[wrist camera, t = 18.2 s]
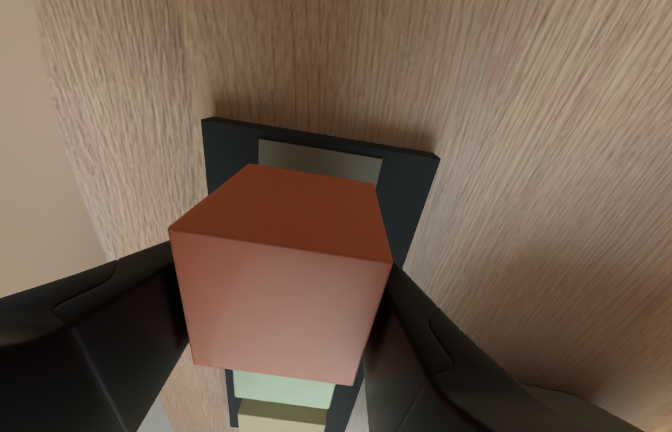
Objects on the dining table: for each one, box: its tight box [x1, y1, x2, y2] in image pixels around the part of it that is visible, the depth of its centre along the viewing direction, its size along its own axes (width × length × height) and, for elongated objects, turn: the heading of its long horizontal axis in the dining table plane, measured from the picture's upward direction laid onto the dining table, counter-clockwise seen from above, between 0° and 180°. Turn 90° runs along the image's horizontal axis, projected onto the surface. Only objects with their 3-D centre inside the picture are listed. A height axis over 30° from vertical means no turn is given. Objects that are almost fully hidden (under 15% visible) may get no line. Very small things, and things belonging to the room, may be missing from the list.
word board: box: [201, 117, 440, 432], centre depth 15 cm, size 10×26×5 cm, turn 171°
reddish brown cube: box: [168, 164, 393, 386], centre depth 8 cm, size 4×4×4 cm
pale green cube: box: [233, 370, 336, 409], centre depth 12 cm, size 4×4×4 cm
